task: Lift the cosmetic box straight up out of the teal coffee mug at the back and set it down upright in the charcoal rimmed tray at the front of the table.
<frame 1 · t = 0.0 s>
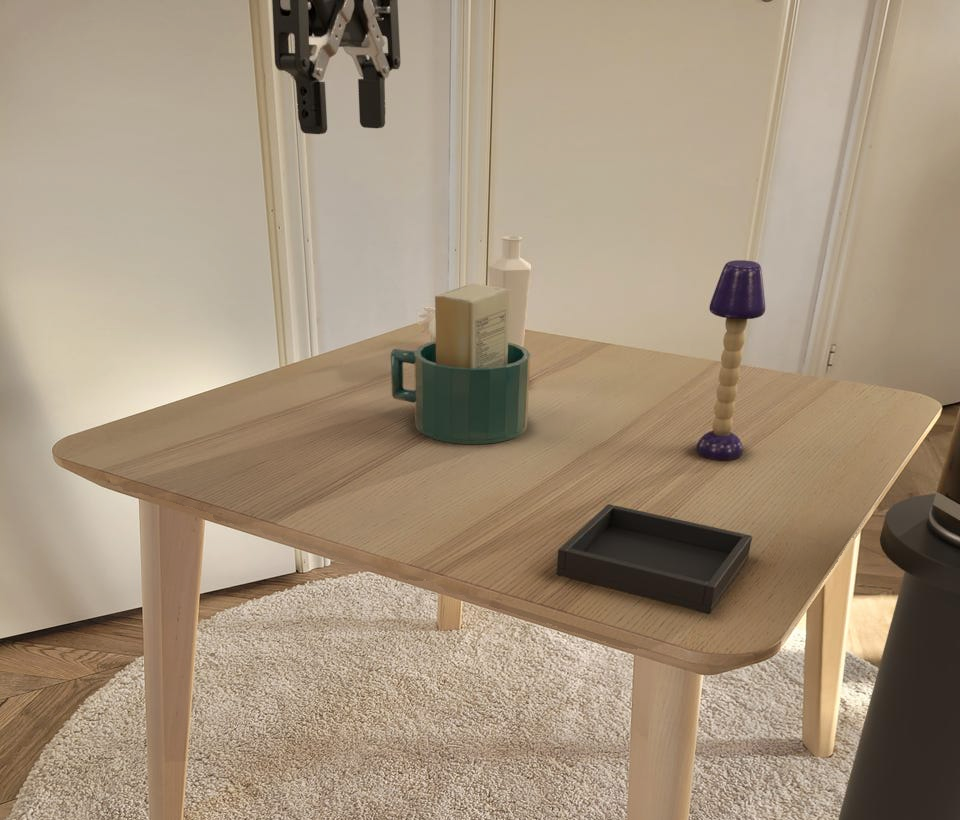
hand: (344, 130, 84), 25 cm above the table, tool pointing down, fingers open, 8 cm apart
cream spiky figurine: (441, 356, 118), on the table
tray: (653, 567, 72), on the table
teal coffee mug: (471, 425, 97), on the table
white bottle vase: (508, 385, 109), on the table
cosmetic box: (471, 422, 97), resting on teal coffee mug
toy lamp: (715, 455, 92), on the table
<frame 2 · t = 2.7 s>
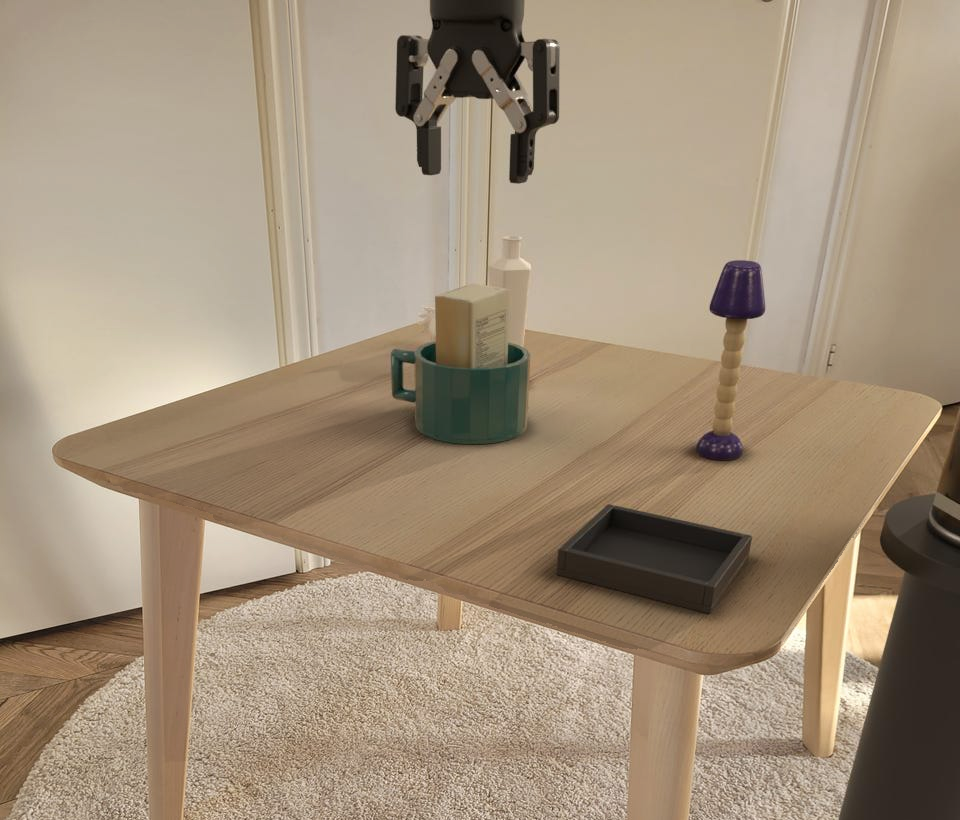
hand: (474, 178, 86), 22 cm above the table, tool pointing down, fingers open, 8 cm apart
nothing on the table moved.
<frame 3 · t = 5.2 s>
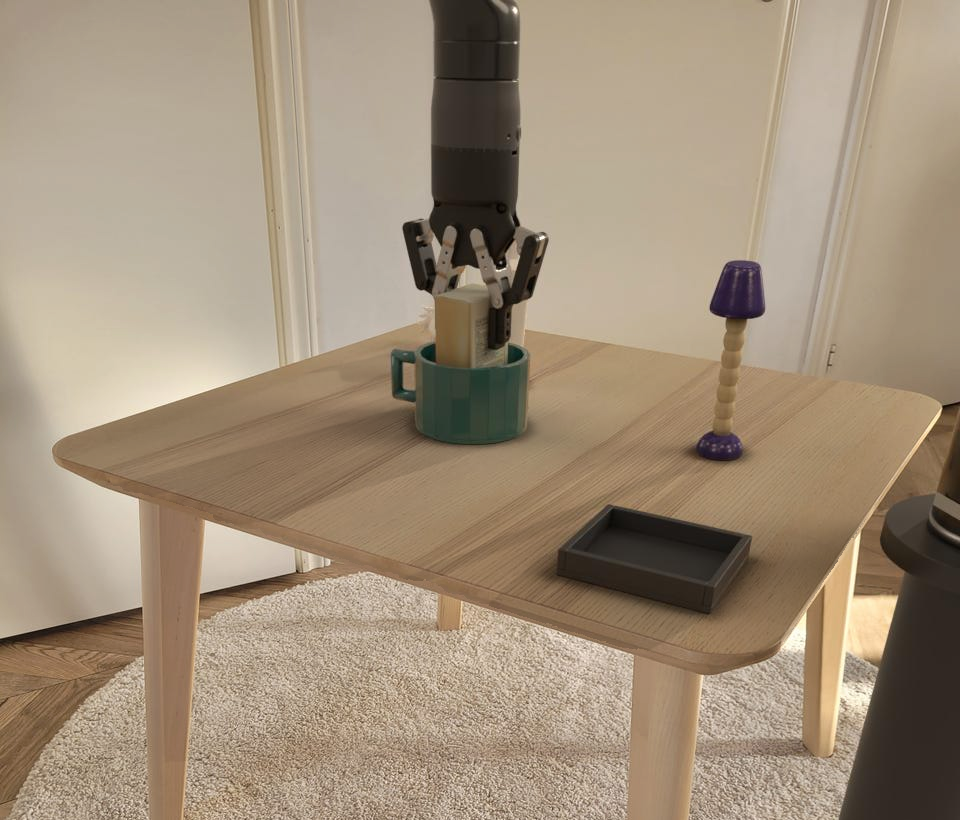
hand: (472, 342, 93), 8 cm above the table, tool pointing down, fingers closed on cosmetic box, 4 cm apart
cosmetic box: (471, 422, 97), resting on teal coffee mug, touching gripper
everything else where it was.
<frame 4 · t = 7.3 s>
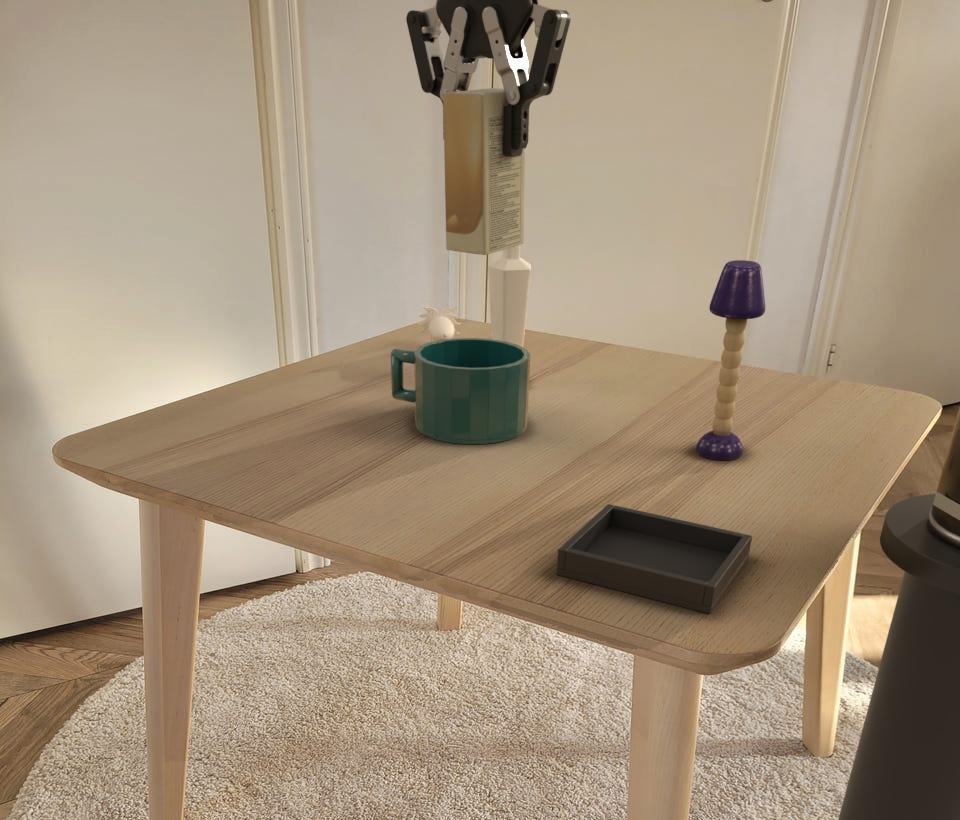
hand: (485, 153, 84), 24 cm above the table, tool pointing down, fingers closed on cosmetic box, 4 cm apart
cosmetic box: (484, 250, 88), point 16 cm above the table, touching gripper
everything else where it was.
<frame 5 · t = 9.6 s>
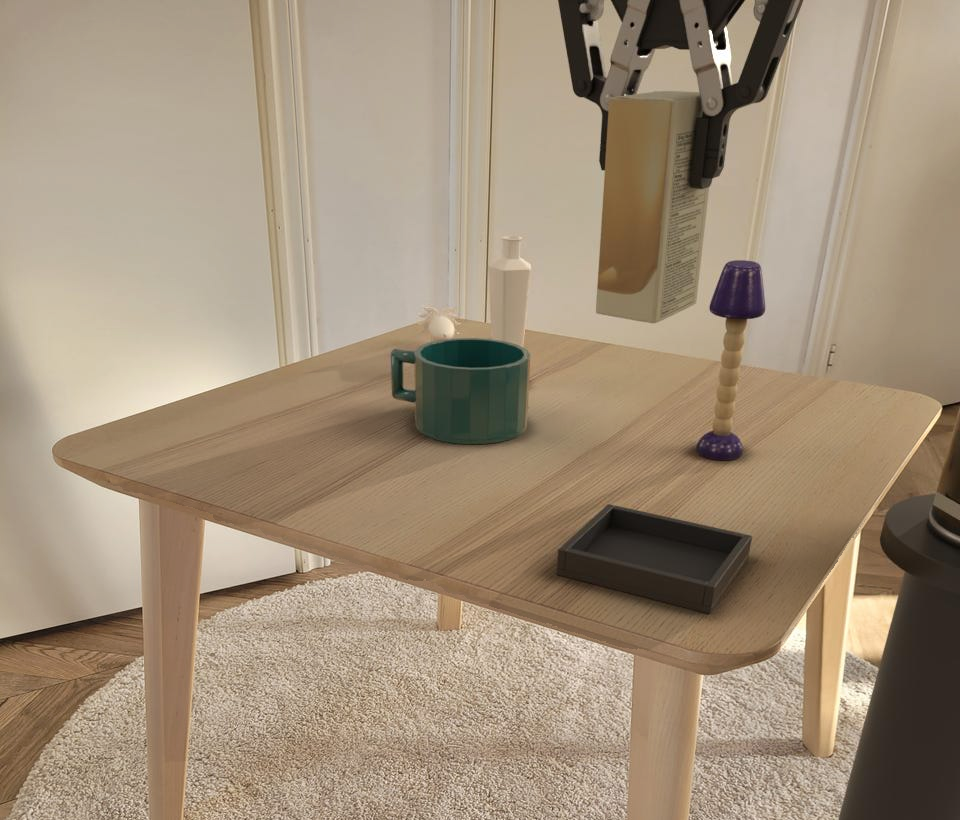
hand: (659, 182, 60), 25 cm above the table, tool pointing down, fingers closed on cosmetic box, 4 cm apart
cosmetic box: (645, 314, 64), point 17 cm above the table, touching gripper
everything else where it was.
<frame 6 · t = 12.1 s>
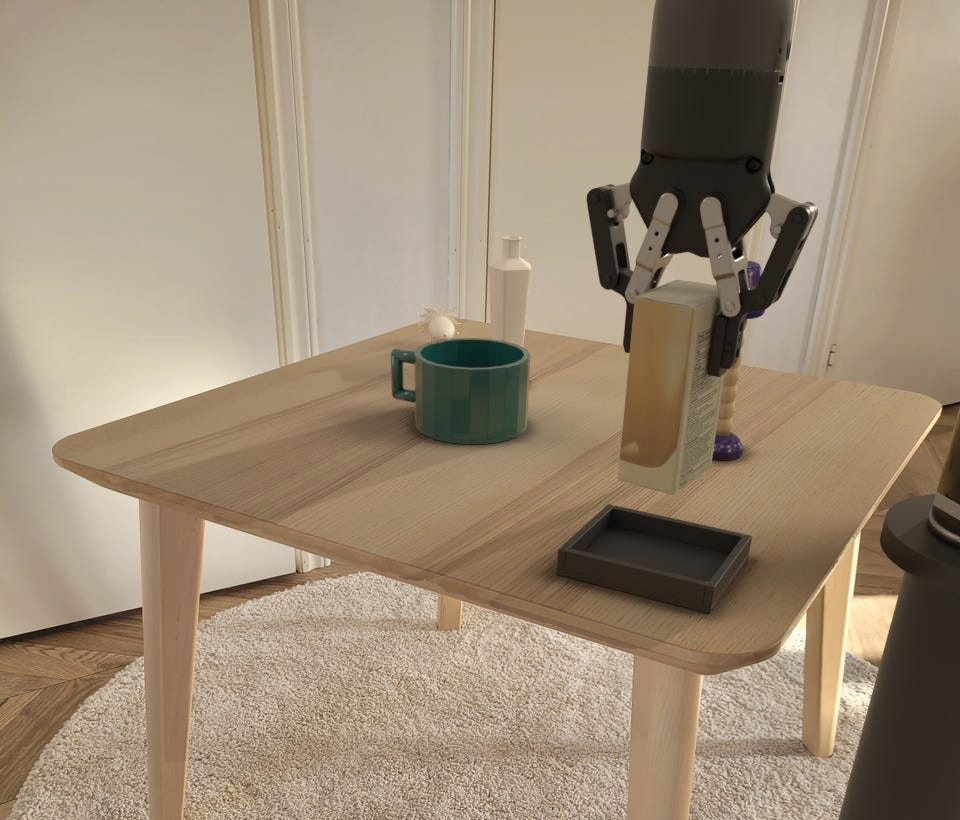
hand: (678, 366, 64), 15 cm above the table, tool pointing down, fingers closed on cosmetic box, 4 cm apart
cosmetic box: (663, 478, 68), point 7 cm above the table, touching gripper
everything else where it was.
when the fingers open (8 cm above the table, at t = 14.0 s): cosmetic box stays where it is, resting on tray.
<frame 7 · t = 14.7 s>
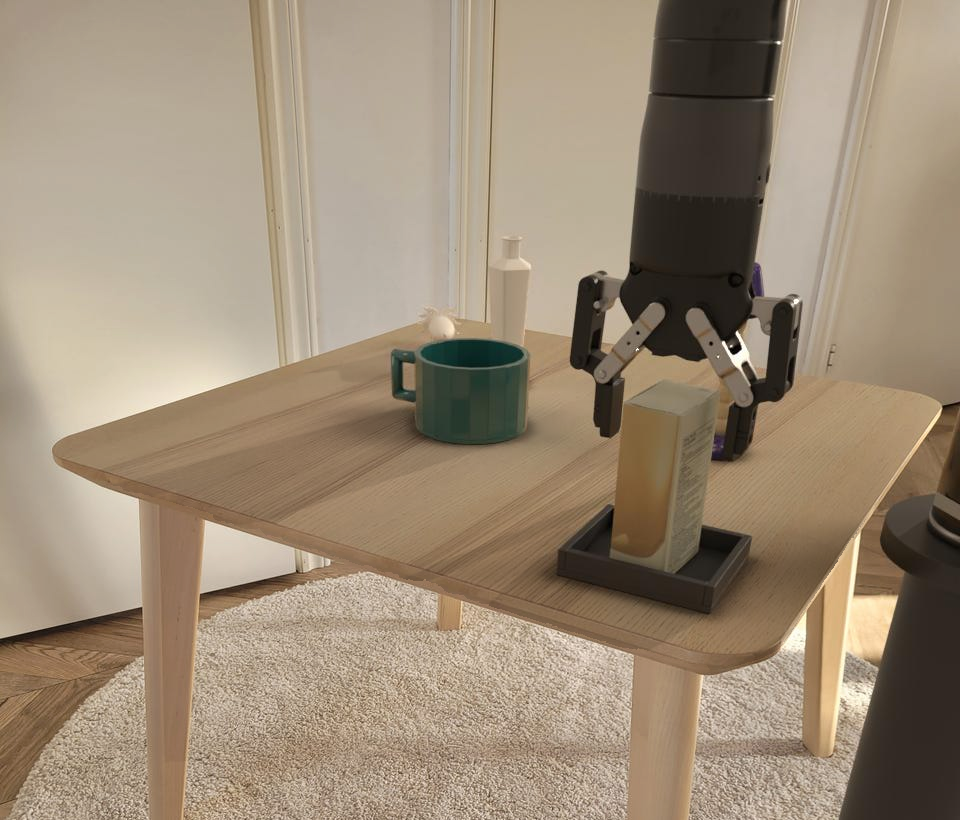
hand: (669, 446, 67), 9 cm above the table, tool pointing down, fingers open, 8 cm apart
cosmetic box: (652, 564, 72), resting on tray
everything else where it was.
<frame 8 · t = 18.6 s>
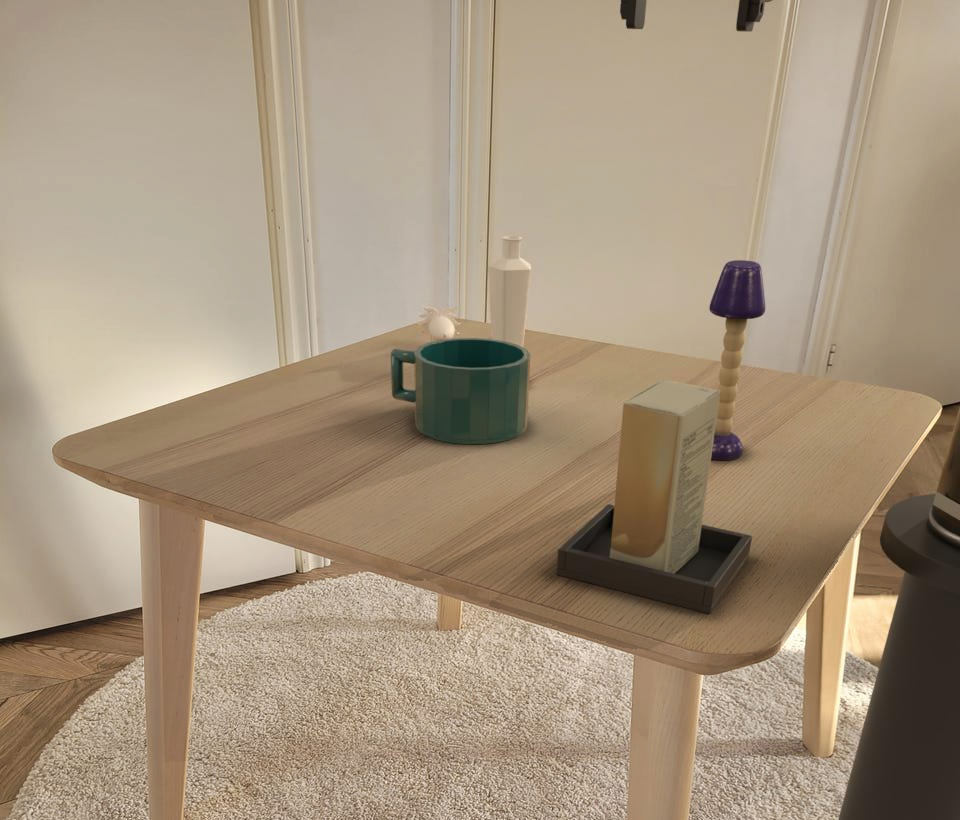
hand: (688, 30, 75), 33 cm above the table, tool pointing down, fingers open, 8 cm apart
nothing on the table moved.
at the end: cosmetic box inside the target area in the tray (0.1 cm from its centre), point 0.3 cm above the tray's base; cosmetic box tilted 0°; the gripper is holding nothing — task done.
